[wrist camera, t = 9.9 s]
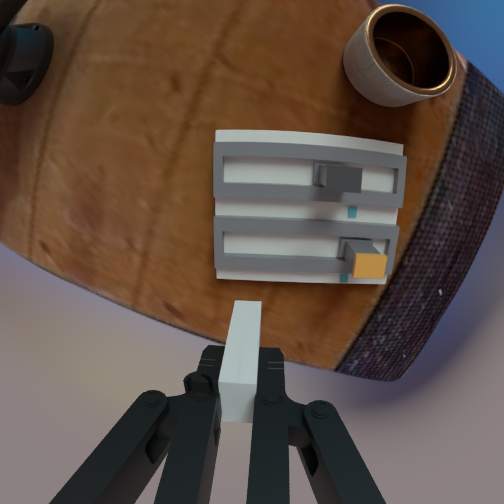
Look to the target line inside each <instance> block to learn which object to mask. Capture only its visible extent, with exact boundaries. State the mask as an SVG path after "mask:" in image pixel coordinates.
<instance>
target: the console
mask: <svg viewBox="0 0 504 504" xmlns="http://www.w3.org/2000/svg"><path fill="white" fill-rule="evenodd" d="M314 163H324V164H336V165H346V166H350V167H359V168H363V171H362V185H361V194H360V193H349V192H337V191H326V190H324V189H325V186H323V185H322V184H320V183H314V182H313V172H314ZM406 163H407V156H403V144H397V143H391V142H385V141H379V140H372V139H365V138H357V137H349V136H340V135H331V134H320V133H307V132H292V131H270V130H216V142H214V151H213V197H215V216H214V264H215V268H216V270H217V279H237V280H258V281H282V282H311V283H349V284H385V283H386V278H387V275H391V273H392V268H393V263H394V258H395V252H396V246H397V240H398V234H399V228H400V227H399V226H397V225H396V220H397V212H398V208H402V205H403V197H404V187H405V176H406ZM340 238H359V239H371V240H372V241H373V246H374V247H375V248H376V249H377V250H378V251H379V252H380V253H381V254H385V255H386V256H387V262H386V267H385V272H384V277H383V278H353V276H352V269H351V268H350V266H349V264H348V263H347V261H346V260H345V258H344V257H339V256H338V251H339V243H340Z"/></svg>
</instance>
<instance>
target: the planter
mask: <svg viewBox="0 0 504 504" xmlns="http://www.w3.org/2000/svg"><path fill="white" fill-rule="evenodd" d="M343 64H344V69H345V72H346V75H347V77H348V79H349V81H350V82H351V84H352V85H353V86H354V88H355V89H356V90H357V91H358V92H359V93H360V94H361V95H362V96H364V97H365V98H366V99H368V100H370V101H371V102H373V103H376V104H378V105H381V106H386V107H400V106H404V105H407V104H411V103H414V102H417V101H420V100H423V99H427V98H431V97H434V96H438V95H440V94H443V93H444V92H446V91H447V90H448V89H449V88H450V87H451V85H452V84H453V82H454V79H455V76H456V58H455V54H454V51H453V48H452V46H451V44H450V42H449V40H448V38H447V36H446V35H445V33H444V32H443V31H442V30H441V28H440V27H439V26H438V25H437V24H436V23H435V22H434V21H433V20H432V19H430V18H429V17H428V16H426V15H425V14H423V13H422V12H420V11H418V10H416V9H414V8H411V7H408V6H405V5H399V4H388V5H383V6H381V7H378V8H377V9H375V10H374V11H373V12H372V13H371V14H370V15H369V16H368V18H367V19H366V20H365V21H364V22H363V24H362V25H361V26H360V27H359V29H358V30H357V31H356V32H355V33H354V34H353V36H352V37H351V38H350V40H349V41H348V42H347V44H346V46H345V49H344V54H343Z"/></svg>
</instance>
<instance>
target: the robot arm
mask: <svg viewBox="0 0 504 504" xmlns="http://www.w3.org/2000/svg"><path fill="white" fill-rule="evenodd" d="M27 1H28V0H0V104H2V105H17V104H20V103H22V102H23V101H25V100H26V99H27V98H28V97H29V96H30V95H31V94H32V93H33V92H34V91H35V89H36V88H37V87H38V85H39V83H40V82H41V80H42V78H43V77H44V75H45V73H46V70H47V68H48V66H49V63H50V60H51V56H52V52H53V43H54V41H53V34H52V32H51V30H50V29H49V28H48V27H47V26H45V25H42V24H39V23H25V24H16V25H9V23H10V22H11V21H12V19H13V18H14V17H15V16H16V14H17V13H18V12H19V10H20V9H21V8H22V7H23V6H24V4H25V3H26V2H27ZM260 325H261V301H236V300H235V304H234V309H233V313H232V318H231V323H230V327H229V332H228V337H227V342H226V346H216V345H208V346H207V347H206V348H205V350H203V353H202V356H201V359H200V362H199V365H198V369H197V371H196V372H193V373H190V374H188V375H187V376H186V377H185V378H184V380H183V381H184V386H185V391H186V393H184V394H182V395H179V396H171V397H166V396H165V394H163V393H162V392H160V391H157V390H149V391H146V392H143V393H142V394H141V395H140V396H139V397H138V398H137V399H136V401H135V402H134V403H133V404H132V405H131V406H130V408H129V409H128V410H127V411H126V413H125V414H124V415H123V416H122V417H121V419H120V420H119V421H118V422H117V423H116V424H115V426H114V427H113V428H112V429H111V431H110V432H109V433H108V434H107V435H106V436H105V438H104V439H103V440H102V441H101V442H100V444H99V445H98V446H97V447H96V448H95V450H94V451H93V452H92V453H91V454H90V456H89V457H88V458H87V459H86V460H85V462H84V463H83V464H82V465H81V466H80V468H79V469H78V470H77V471H76V472H75V473H74V475H73V476H72V477H71V478H70V479H69V480H68V482H67V483H66V484H65V485H64V487H63V488H62V489H61V490H60V491H59V492H58V493H57V495H56V496H55V497H54V498H53V499H52V501H51V502H50V503H49V504H134V503H135V502H136V500H137V499H138V497H139V496H140V494H141V493H142V492H143V490H144V488H145V487H146V485H147V484H148V482H149V481H150V479H151V478H152V476H153V475H154V473H155V472H156V470H157V469H158V467H159V466H160V464H161V462H162V461H163V459H164V458H165V456H166V455H167V453H168V455H167V458H166V462H165V466H164V469H163V472H162V476H161V479H160V483H159V486H158V490H157V494H156V497H155V501H154V504H209V501H210V494H211V488H212V482H213V476H214V470H215V463H216V457H217V451H218V445H219V439H220V433H221V428H220V422H221V417H222V421H229V422H242V423H253V426H252V427H253V428H252V440H251V453H250V465H249V477H248V489H247V502H246V504H290V502H289V501H290V500H289V498H290V495H289V448H288V447H289V445H291V446H296V447H297V450H298V453H299V455H300V458H301V461H302V464H303V466H304V469H305V472H306V474H307V477H308V479H309V482H310V485H311V487H312V490H313V493H314V495H315V498H316V500H317V503H318V504H386V502H385V501H384V499H383V497H382V495H381V493H380V491H379V489H378V487H377V485H376V484H375V482H374V480H373V478H372V476H371V474H370V472H369V470H368V469H367V467H366V465H365V463H364V461H363V459H362V457H361V456H360V453H359V452H358V450H357V448H356V446H355V444H354V442H353V440H352V438H351V437H350V435H349V433H348V431H347V429H346V427H345V425H344V423H343V421H342V420H341V418H340V416H339V414H338V412H337V410H336V408H335V407H334V406H333V405H332V404H331V403H329V402H327V401H323V400H316V401H313V402H310V403H309V404H308V405H304V404H300V403H297V402H294V401H293V400H291V399H290V398H288V396H287V394H286V392H285V377H284V356H283V353H282V352H281V350H280V349H279V348H266V347H260Z"/></svg>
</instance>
